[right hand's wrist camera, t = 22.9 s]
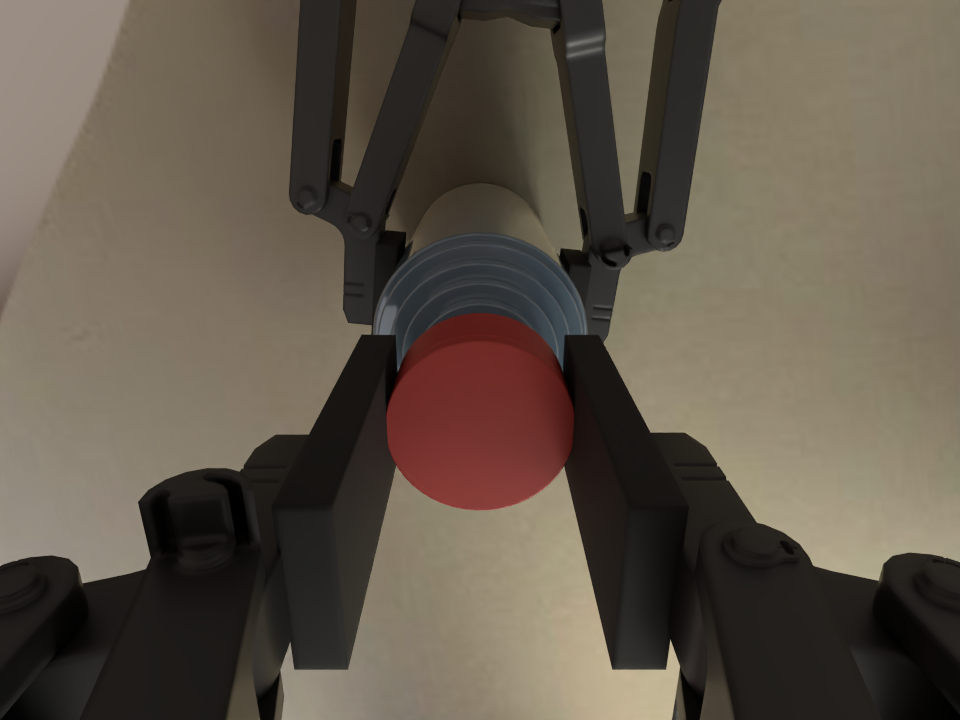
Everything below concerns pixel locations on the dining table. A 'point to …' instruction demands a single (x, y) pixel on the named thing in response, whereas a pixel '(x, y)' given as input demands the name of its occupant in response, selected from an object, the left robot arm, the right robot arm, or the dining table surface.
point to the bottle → (480, 271)
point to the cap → (480, 413)
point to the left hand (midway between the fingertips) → (467, 407)
